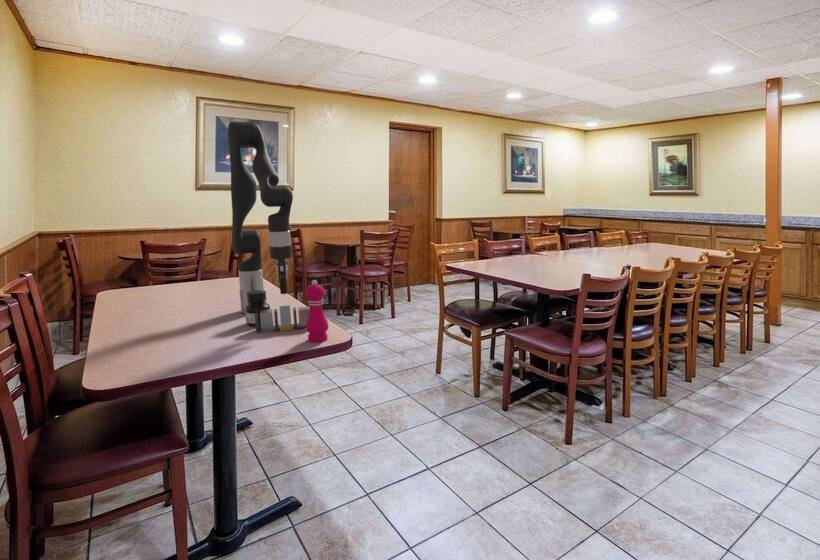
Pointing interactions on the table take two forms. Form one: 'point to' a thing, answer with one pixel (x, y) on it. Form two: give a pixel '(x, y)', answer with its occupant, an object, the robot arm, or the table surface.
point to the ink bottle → (255, 305)
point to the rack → (267, 320)
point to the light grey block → (285, 315)
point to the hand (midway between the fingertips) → (283, 291)
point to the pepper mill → (316, 314)
